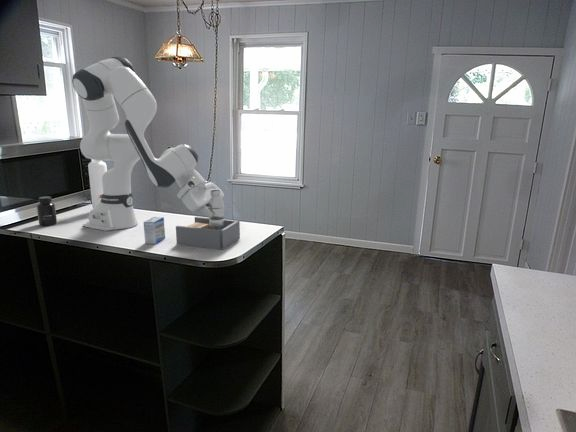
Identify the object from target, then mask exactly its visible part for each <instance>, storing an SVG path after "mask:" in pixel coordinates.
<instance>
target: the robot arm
mask: <svg viewBox="0 0 576 432" xmlns="http://www.w3.org/2000/svg"><path fill="white" fill-rule="evenodd" d="M135 72H136V71H135V68H134V67H133V64H132V63H131V61H129V60H128V58H125V57H124V56H118V55H117V56H111V57H110V58H106V59H103V60H99V61H97V62H95V63H92V64H90V65H89V66H86V67H85V68H83V69H82V68H81V69H79V70H78V71H76V72H75V73H74V74H73V75H72V78H71V79H72V87H73V89H74V90H75V92H76V93H77V95H78V96H79V97H80V98H81V99H82V104H83V107H84V110H85V112H86V113H85V114H86V116H87V119H88V125H89V126H88V127H89V128H88V132H87V133H86V134H85V135H84V136H83V137H82V138H81V141H80V143H79V147H80V152H81V154H82V156H84V157H85V158H86V159H90V160H91V159H93V160H100V161H103V162H104V161H105V162H106V161H108V162H109V161H111V162H112V161H113V162H114V163H113V167H112V168H110V169H107V171H106V172H105V173H104V174H103V176H102V185H103V194H102V195H99V196H100V197H99V198H101V201H100V203H99V204H98V205H97V206H96V207H94V208H93V207H92V209H91V210H90V211H89V213H88V220H87V221H85V222H84V223H83V224H82V225H83V227H87V228H89V229H90V228H91V229H95V230H101V231H104V232H105V231H106V232H107V231H115V230H122V229H128V228H133V227H136V226H137V225H138V219H137V217H136V214H135V210H134V205H133V204H134V195H133V192H132V185H131V182H132V181H131V180H132V171H133V169H134V166H135V165H136V163H138V162H139V161H141V162H142V164H143V166H144V168H145V170H146V172H147V175H148V177H149V179H150V181H151V182H152V183H153V184H154V186H156V187H157V188H163V189H167V188H169V187H171V186H172V185H173V184H174V183H177V185H178V187H179V188H180V190H179V191H178V192H177V194H176V197H177V198H178V199H179V200H181V201H182V203H183V205H184V206H185V207H186V208H187V210H189V211H190V212H192V213H197V212H198V211H201V212H202V213H204V214H206V215H207V216H208V218H209V217H212V216H214V215H215V213H214V212H213V211H211V210H209V209H208V207H207V204H208V203H209V200H210V198H211V196H210V194H211V190H220V191H221V196H220V197H221V198H222V199H223V198H224V196H225V194H224V192H223V191H222V189H221V188H219V186H218V185H216V184H215V183H214V182H212V181H209V180H206V179H205V178H204V177H203V176H202V175H201V173H199V172H198V170H196V169H195V168H196V166H197V165H198V162H199V155H198V153H197V152H196V151H195V149H194V148H193V147H192V146H190V145H188V144H185V143H181V144H179V145H177V146H175V147H170V148H167V149H165V150H164V151H163V152H162V154H161V155H160V157H159V158H156V157H155V156H154V154H153V152H152V150H151V148H150V146H149V144H148V141H147V140H146V138H145V132H146V129H147V127H148V126H149V125H150V123H151V122H152V121H153V119H154V118H155V115H156V113H157V111H158V104H157V100H156V98H155V96H154V94H153V93H152V92H151V90H150V89H149V88H148V86H147V85H146V84H145V83H144V81H143V80H142V79H141V78H140V77H139V76H138V75H137V74H136V73H135ZM115 99H116V101H117V103H118V104H119V105H120V107H121V108H122V109H123V111H124V114H125V118H126V119H125V121H124V126H125V131H126V133H111V132H110V131H111V130H113V129H115V128H116V127H117V126H118V124H119V123H120V115H119V112H118V108H117V104H116V101H115ZM224 210H226V207H225V208H224Z"/></svg>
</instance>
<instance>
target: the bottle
mask: <svg viewBox="0 0 576 432" xmlns="http://www.w3.org/2000/svg"><path fill="white" fill-rule="evenodd" d="M87 167H88V168H87V169H88V176H89V177H88V178H89V188H90V196H91V205H92V209H93V208H94V207H96V206H97V205H98V204H99V203H100V201H101V198H99V197H100V196H99V195H102V194H103V185H102V176H103V174H104V173H105V172H106V171H108V167H107V163H106V162H104V161H100V160H93V159H90V162H88V165H87Z"/></svg>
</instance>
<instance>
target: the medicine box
mask: <svg viewBox="0 0 576 432" xmlns="http://www.w3.org/2000/svg"><path fill="white" fill-rule="evenodd" d="M165 230H166V229H165V218H164V216H153V217H150V218H149V219H147V220H145V221H143V232H144V233H143V234H144V244H147V245H148V244H150V245H158V243H160V242H162V241H163V240H165V239H166V231H165Z"/></svg>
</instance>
